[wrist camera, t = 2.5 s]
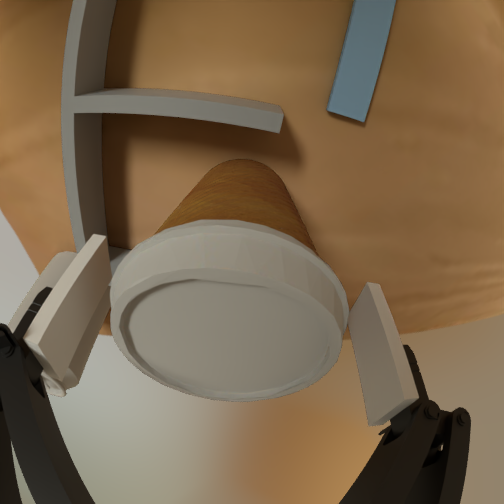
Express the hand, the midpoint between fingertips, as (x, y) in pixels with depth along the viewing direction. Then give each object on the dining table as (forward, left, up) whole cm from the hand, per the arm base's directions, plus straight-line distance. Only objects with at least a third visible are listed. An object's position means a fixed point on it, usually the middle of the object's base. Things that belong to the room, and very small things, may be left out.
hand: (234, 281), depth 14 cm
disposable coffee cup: (0, 0, -8) cm, 8 cm away
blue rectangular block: (-13, +5, -8) cm, 16 cm away
